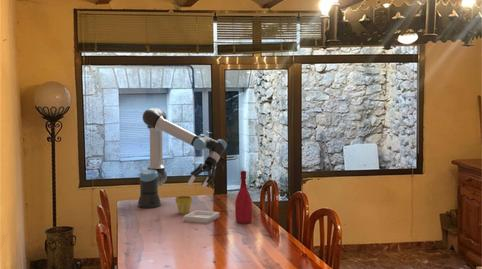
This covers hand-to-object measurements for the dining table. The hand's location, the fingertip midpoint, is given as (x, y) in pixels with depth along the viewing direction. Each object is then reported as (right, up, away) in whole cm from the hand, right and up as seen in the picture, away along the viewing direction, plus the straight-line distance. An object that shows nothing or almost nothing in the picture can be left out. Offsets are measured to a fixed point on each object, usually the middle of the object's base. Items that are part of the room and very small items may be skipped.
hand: (196, 185), depth 332 cm
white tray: (+5, -18, -24) cm, 31 cm away
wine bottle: (+30, -18, -32) cm, 48 cm away
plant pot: (-7, -17, -7) cm, 19 cm away
